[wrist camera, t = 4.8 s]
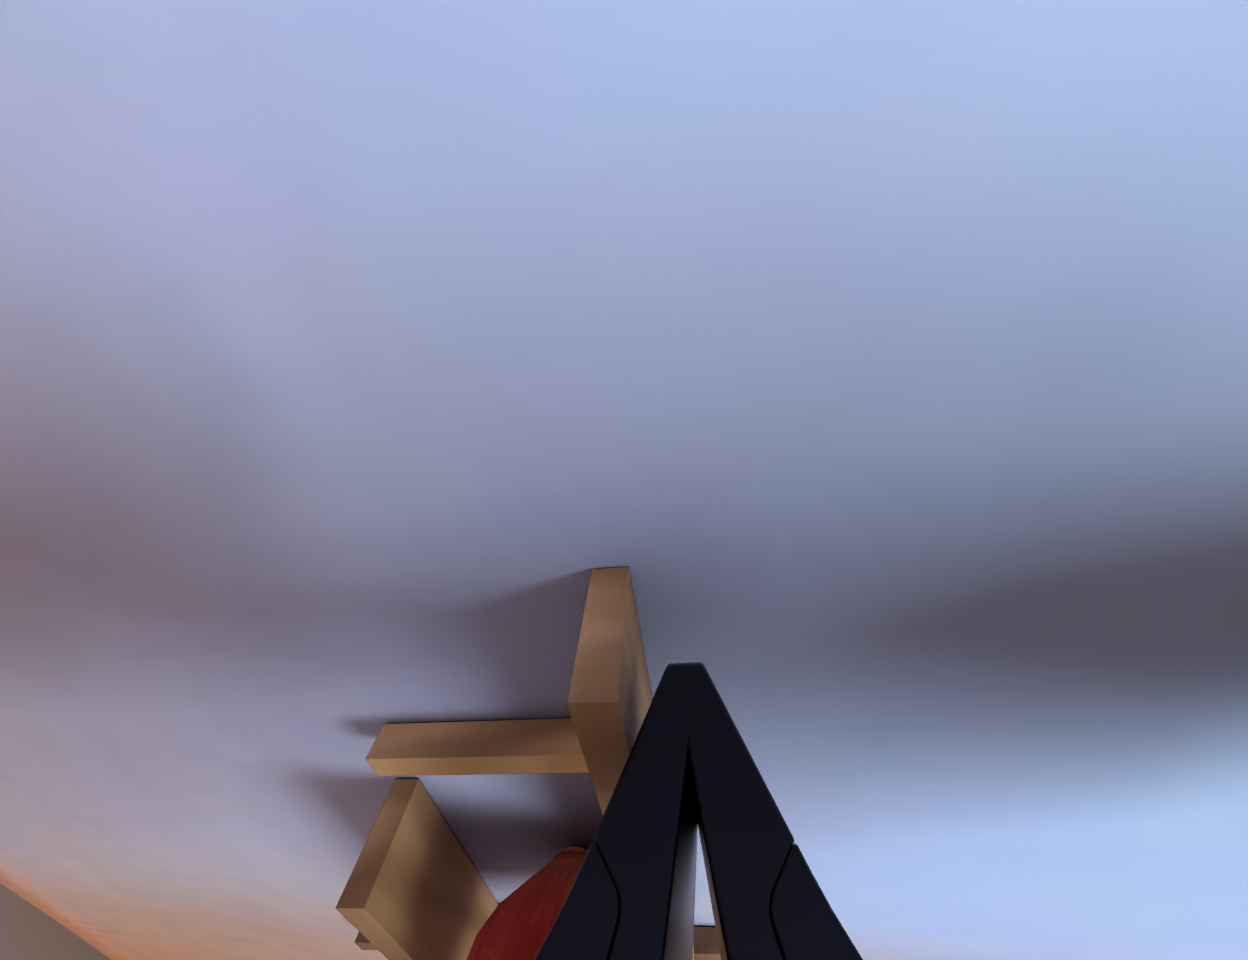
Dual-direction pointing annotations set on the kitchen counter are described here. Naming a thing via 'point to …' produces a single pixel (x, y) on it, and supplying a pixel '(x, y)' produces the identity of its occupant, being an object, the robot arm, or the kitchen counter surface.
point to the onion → (528, 911)
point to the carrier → (410, 821)
